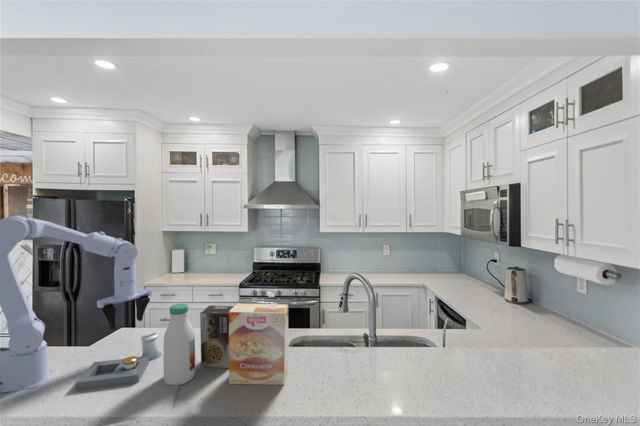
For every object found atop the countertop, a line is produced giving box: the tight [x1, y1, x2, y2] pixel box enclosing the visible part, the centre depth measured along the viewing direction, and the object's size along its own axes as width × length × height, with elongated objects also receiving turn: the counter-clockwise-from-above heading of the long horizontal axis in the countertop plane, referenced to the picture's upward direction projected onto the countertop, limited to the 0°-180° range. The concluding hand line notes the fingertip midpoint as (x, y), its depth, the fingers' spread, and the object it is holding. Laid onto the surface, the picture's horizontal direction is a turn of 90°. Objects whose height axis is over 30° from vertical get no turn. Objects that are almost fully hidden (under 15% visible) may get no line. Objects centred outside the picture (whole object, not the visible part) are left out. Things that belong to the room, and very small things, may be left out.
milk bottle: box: [163, 302, 196, 386], centre depth 82 cm, size 8×8×20 cm
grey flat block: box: [75, 356, 150, 392], centre depth 83 cm, size 14×10×2 cm
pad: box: [140, 350, 163, 362], centre depth 93 cm, size 6×6×1 cm
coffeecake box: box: [228, 303, 289, 386], centre depth 83 cm, size 15×7×20 cm, turn 88°
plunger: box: [122, 355, 137, 370], centre depth 84 cm, size 3×3×4 cm
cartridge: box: [140, 332, 159, 360], centre depth 93 cm, size 5×5×7 cm
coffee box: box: [199, 305, 235, 369], centre depth 90 cm, size 9×6×16 cm
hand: (126, 324), depth 94 cm, fingers open, 7 cm apart
